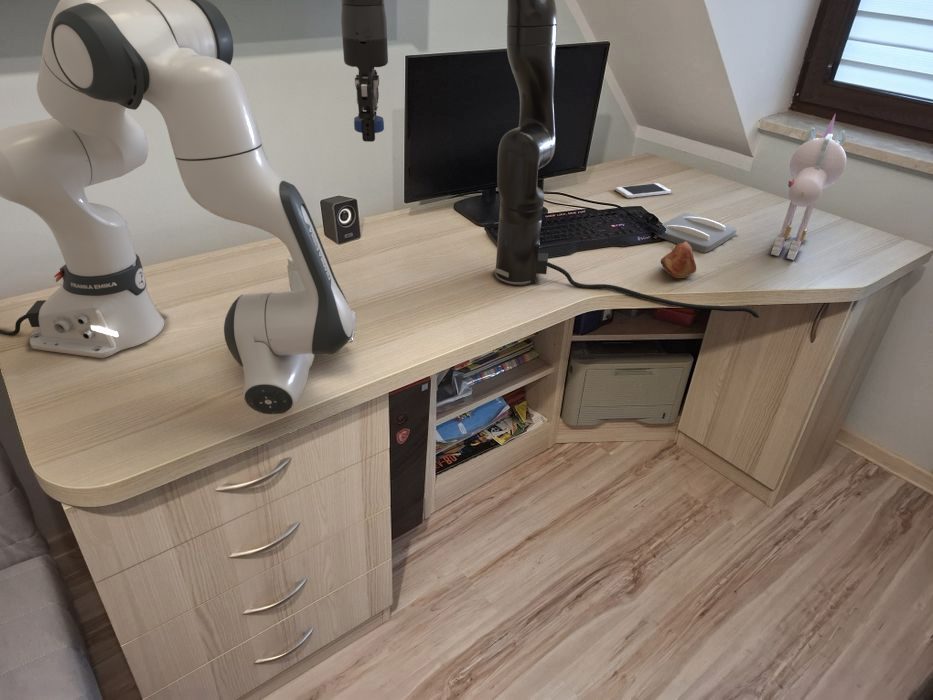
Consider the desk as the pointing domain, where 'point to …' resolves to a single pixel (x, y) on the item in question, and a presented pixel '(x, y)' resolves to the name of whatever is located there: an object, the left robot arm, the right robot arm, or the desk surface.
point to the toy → (811, 180)
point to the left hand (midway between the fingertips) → (306, 303)
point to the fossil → (680, 261)
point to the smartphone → (642, 190)
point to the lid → (377, 122)
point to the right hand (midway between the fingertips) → (370, 136)
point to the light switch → (697, 232)
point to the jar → (294, 276)
